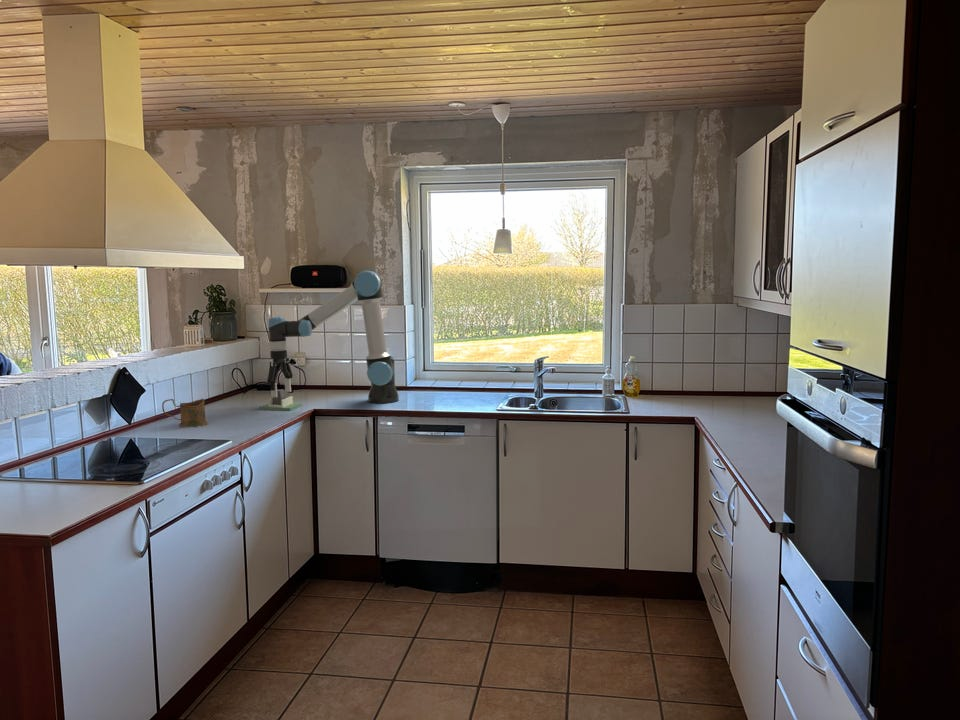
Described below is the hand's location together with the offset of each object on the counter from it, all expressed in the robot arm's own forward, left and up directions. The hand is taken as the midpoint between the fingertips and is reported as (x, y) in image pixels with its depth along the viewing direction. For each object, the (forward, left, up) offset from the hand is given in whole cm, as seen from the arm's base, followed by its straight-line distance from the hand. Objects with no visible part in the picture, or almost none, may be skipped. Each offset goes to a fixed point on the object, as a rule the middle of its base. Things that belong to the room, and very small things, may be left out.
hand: (281, 394), depth 339 cm
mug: (+21, +43, -7) cm, 49 cm away
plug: (+1, 0, -5) cm, 5 cm away
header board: (0, 0, -6) cm, 6 cm away
